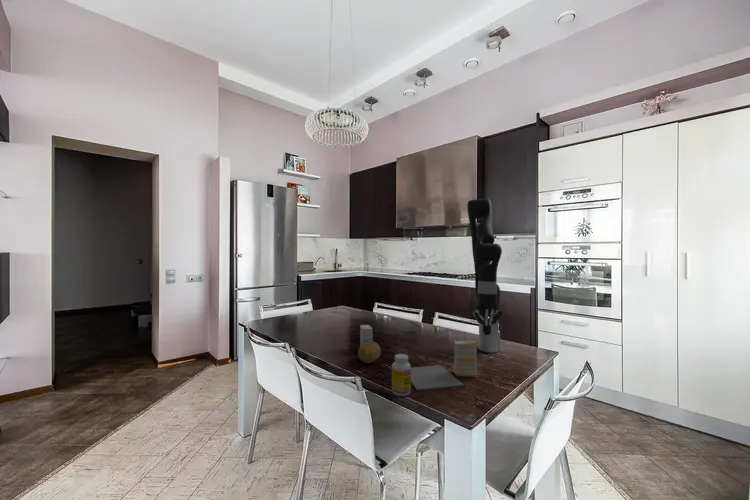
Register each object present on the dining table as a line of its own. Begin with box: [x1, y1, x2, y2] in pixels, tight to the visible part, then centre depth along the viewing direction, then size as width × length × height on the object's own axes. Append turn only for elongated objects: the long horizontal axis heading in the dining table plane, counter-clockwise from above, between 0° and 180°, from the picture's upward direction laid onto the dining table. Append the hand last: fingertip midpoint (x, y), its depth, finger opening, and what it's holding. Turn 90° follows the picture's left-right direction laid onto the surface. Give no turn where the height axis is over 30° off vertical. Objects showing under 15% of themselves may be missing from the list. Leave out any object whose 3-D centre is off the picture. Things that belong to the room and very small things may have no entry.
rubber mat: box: [411, 365, 465, 392], centre depth 125 cm, size 18×20×1 cm
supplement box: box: [453, 340, 478, 378], centre depth 129 cm, size 8×5×13 cm, turn 84°
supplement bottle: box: [391, 353, 412, 397], centre depth 112 cm, size 7×7×13 cm
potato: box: [357, 341, 382, 364], centre depth 142 cm, size 10×14×8 cm
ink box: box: [359, 324, 374, 348], centre depth 158 cm, size 9×5×12 cm, turn 13°
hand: (486, 334), depth 131 cm, fingers closed
